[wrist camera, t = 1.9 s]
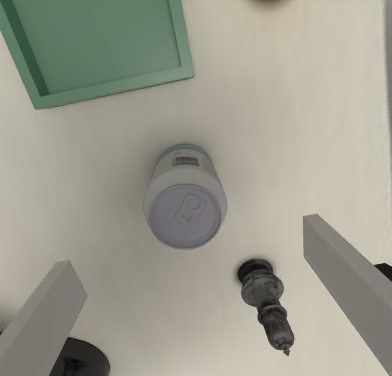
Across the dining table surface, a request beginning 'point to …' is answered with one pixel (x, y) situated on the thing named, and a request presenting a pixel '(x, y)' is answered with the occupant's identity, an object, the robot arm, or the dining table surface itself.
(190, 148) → the beverage can
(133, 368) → the dining table surface
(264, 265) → the salt shaker
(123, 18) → the tray
